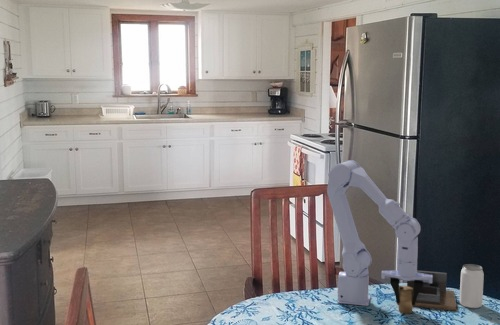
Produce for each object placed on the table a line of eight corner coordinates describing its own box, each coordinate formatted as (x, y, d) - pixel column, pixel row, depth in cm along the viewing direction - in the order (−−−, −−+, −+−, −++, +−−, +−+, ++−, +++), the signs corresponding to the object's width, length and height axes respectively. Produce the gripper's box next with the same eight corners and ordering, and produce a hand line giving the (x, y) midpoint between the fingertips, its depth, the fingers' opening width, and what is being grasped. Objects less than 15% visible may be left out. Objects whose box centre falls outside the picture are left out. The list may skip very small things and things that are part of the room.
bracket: (397, 304, 170) (398, 282, 169) (399, 289, 183) (399, 268, 182) (456, 310, 166) (457, 287, 164) (453, 294, 178) (454, 273, 177)
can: (483, 309, 166) (486, 271, 164) (461, 308, 167) (463, 270, 166) (479, 301, 172) (481, 264, 171) (457, 299, 174) (459, 263, 172)
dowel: (398, 312, 165) (399, 290, 164) (398, 307, 168) (399, 285, 167) (412, 314, 164) (413, 291, 162) (412, 308, 167) (413, 286, 166)
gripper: (381, 261, 162) (380, 305, 164) (433, 266, 158) (431, 311, 160) (382, 254, 168) (381, 296, 171) (432, 258, 164) (431, 301, 166)
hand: (405, 303), depth 166 cm, fingers closed on dowel, 4 cm apart
